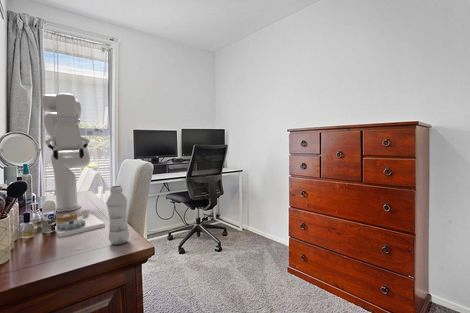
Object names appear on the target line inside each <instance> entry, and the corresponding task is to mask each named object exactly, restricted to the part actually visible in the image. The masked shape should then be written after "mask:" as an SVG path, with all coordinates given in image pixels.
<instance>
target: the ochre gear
mask: <svg viewBox="0 0 470 313" xmlns="http://www.w3.org/2000/svg"><path fill="white" fill-rule="evenodd" d="M67 214H69V215H70V216H65V217H63V215H67ZM77 217H78V213H76V212H67V213H66V212H65V213H60V214H59V215H56V216H55V221H56V223H57V225H58V224H61V223H62V222H67V221H69V220H77Z"/></svg>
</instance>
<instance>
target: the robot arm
mask: <svg viewBox="0 0 470 313" xmlns="http://www.w3.org/2000/svg"><path fill="white" fill-rule="evenodd" d="M40 106H41V108H42V110H43V111H44V112H48V113H46V114H44V116H43V125H44V128H45V131H46V132H47V133H48V135H49V136H50V138H48V139H46V140H44V143H45V144H46V146H47V147H48V148H49V149H50V150H52V152H53V153H52V154H51V155H50V160H51V165H52V169H53V174H54V187H55V189H54V190H55V202H56V206H55V207H56V211H57V212H58V213H61V212H69V211H74V210H78V209H81V207H82V205H81V204H79V203H78V192H77V191H78V189H77V176H76V174H75V172H73V171H72V170H71V169H73V168H84V167H88V166H89V164H90V162H91V158H90V154H89V150H88V145H89V143H90V140H89V139H87V138H86V137H83V136H82V134H81V130H80V124H81V114H82V105H81V103H80V101H79V100H78V99H76V97H75V95H74V94H71V93H68V92H67V93H64V92H60V93H56V94H43V95H42V97H41V99H40ZM51 143H52V144H51ZM57 212H56V213H57Z"/></svg>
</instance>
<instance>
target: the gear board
mask: <svg viewBox="0 0 470 313" xmlns="http://www.w3.org/2000/svg"><path fill="white" fill-rule="evenodd" d="M89 212H90V209H83V210H82V215H77V220H69V221H67V222H62V223H61V224H58V225H57V223H56V226H55V230H54V231H55V233H56V234H57V236H58V238H62V237H66V236H70V235H75V234H78V233H83V232H84V233H85V232H87V231H92V230H96V229H100V228H101V229H102V228H104V227H105V228H106V224H105V222H104V221H102V220H101V219H99V218H98V217H96V216H95V215H94V214H92V213H89ZM65 216H70V215H69V214H67V215H63V217H65Z"/></svg>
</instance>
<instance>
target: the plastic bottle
mask: <svg viewBox="0 0 470 313" xmlns="http://www.w3.org/2000/svg"><path fill="white" fill-rule="evenodd" d="M123 191H124V190H123V186H122V185H113V186H111V187H110V192H109V193H110V195H109V196H108V199H107V200H106V206H107V212H108V218H109V232H108V241H109V242H110V244H111V245H123V244H126V243H127V242H128V241H129V238H130V230H129V228H128V222H127V221H128V220H127V209H128V208H127V207H128V200H127V197H126V195H124V193H123Z"/></svg>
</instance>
